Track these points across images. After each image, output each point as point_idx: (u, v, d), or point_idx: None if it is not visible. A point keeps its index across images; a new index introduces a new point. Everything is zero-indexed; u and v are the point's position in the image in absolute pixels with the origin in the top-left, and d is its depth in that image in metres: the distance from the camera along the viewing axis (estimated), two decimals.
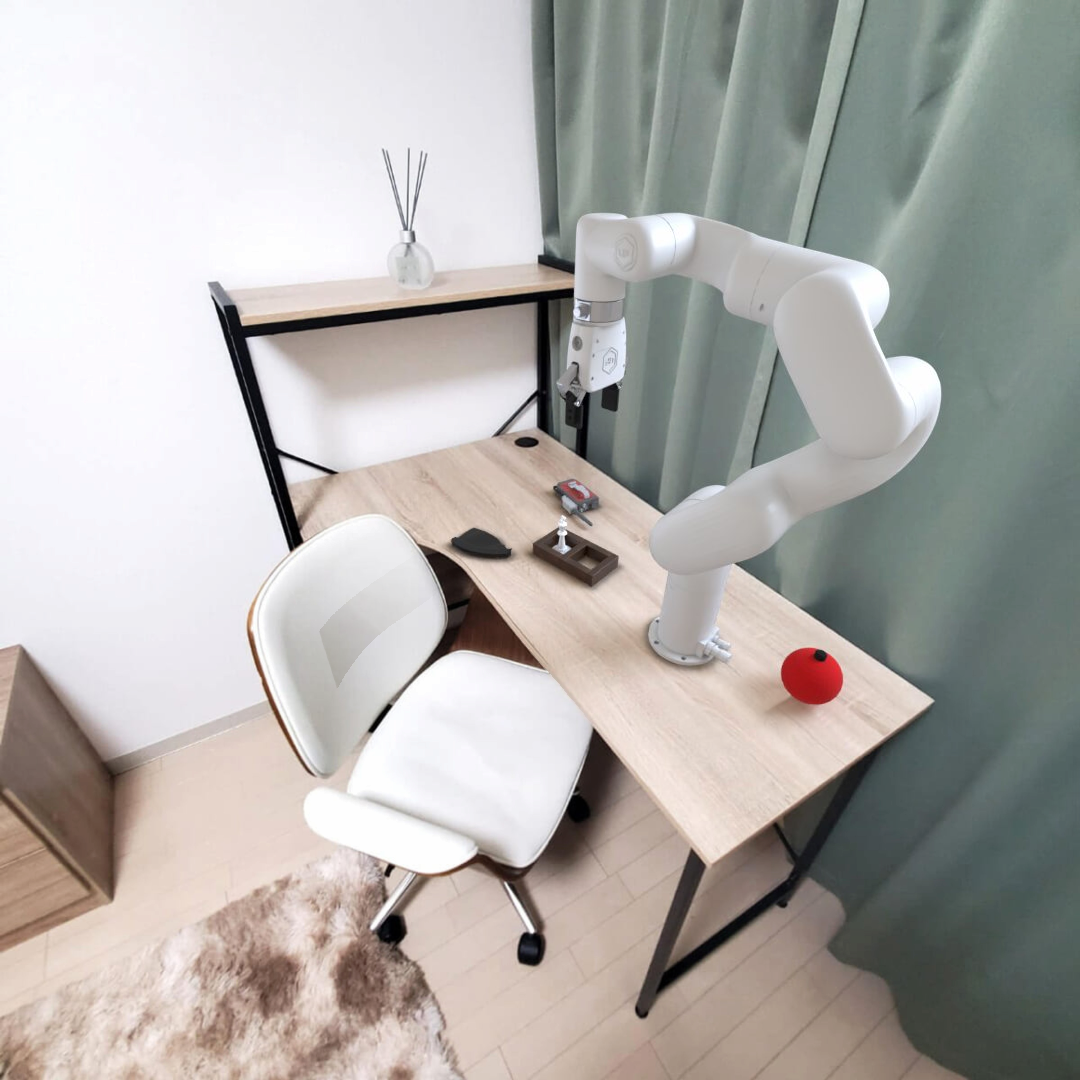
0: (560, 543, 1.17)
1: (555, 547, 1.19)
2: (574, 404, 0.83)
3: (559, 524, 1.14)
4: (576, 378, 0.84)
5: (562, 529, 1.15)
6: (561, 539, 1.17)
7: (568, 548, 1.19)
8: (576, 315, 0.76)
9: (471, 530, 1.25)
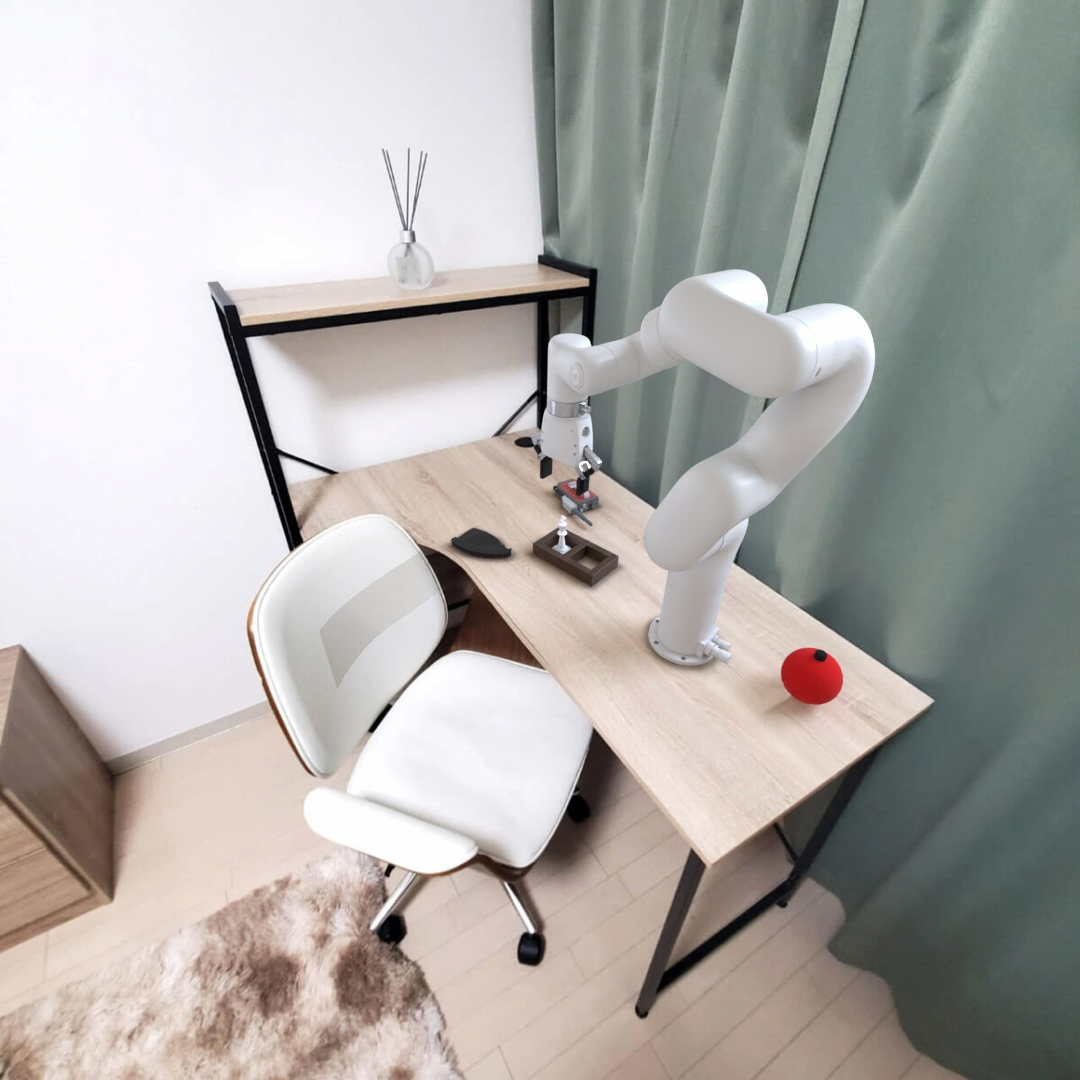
0: (560, 543, 1.17)
1: (555, 547, 1.19)
2: None
3: (559, 524, 1.14)
4: None
5: (562, 529, 1.15)
6: (561, 539, 1.17)
7: (568, 548, 1.19)
8: (588, 412, 0.96)
9: (471, 530, 1.25)
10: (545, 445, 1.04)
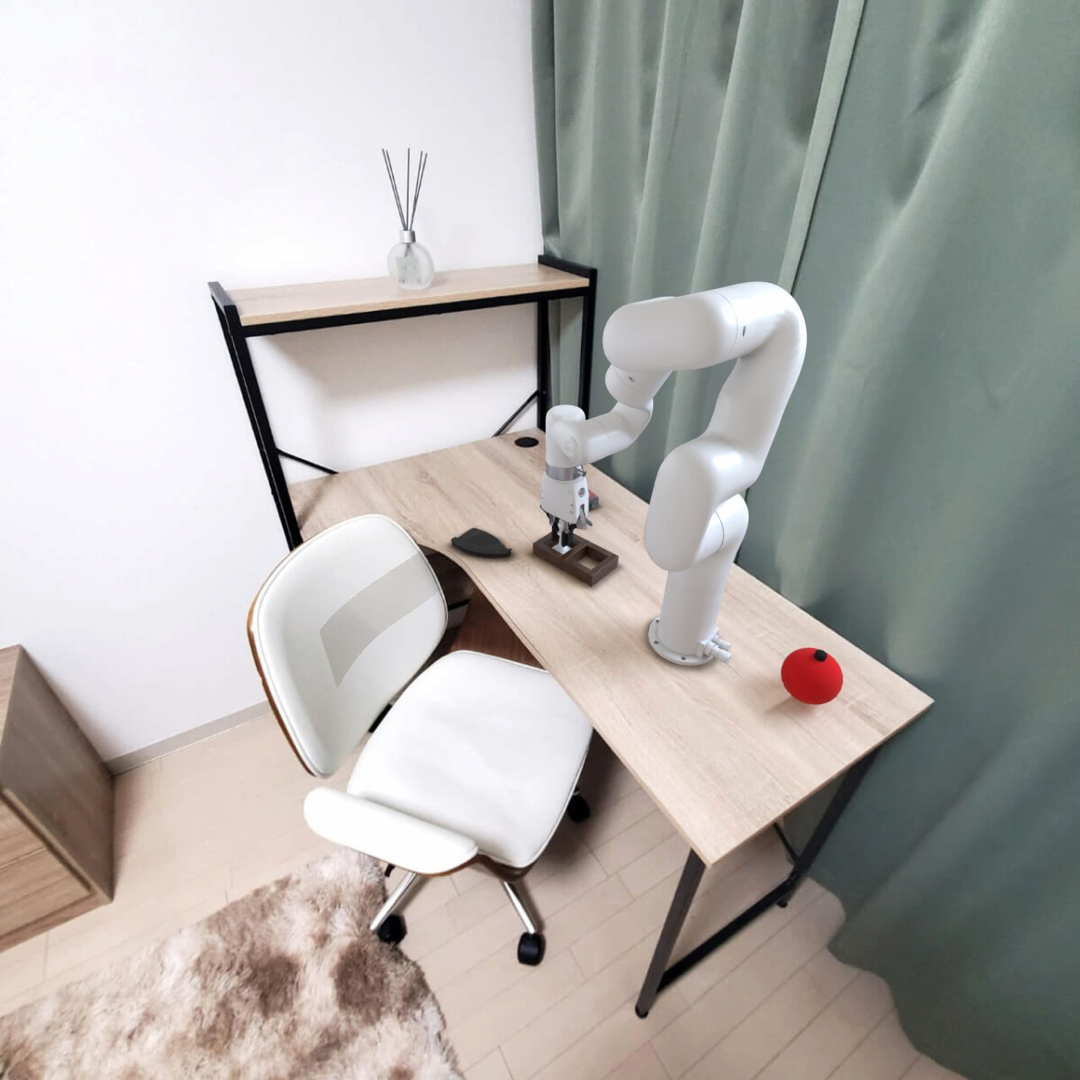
0: (560, 543, 1.17)
1: (555, 547, 1.19)
2: None
3: (559, 524, 1.14)
4: None
5: (562, 529, 1.15)
6: None
7: (568, 548, 1.19)
8: (584, 475, 1.04)
9: (471, 530, 1.25)
10: (545, 502, 1.12)
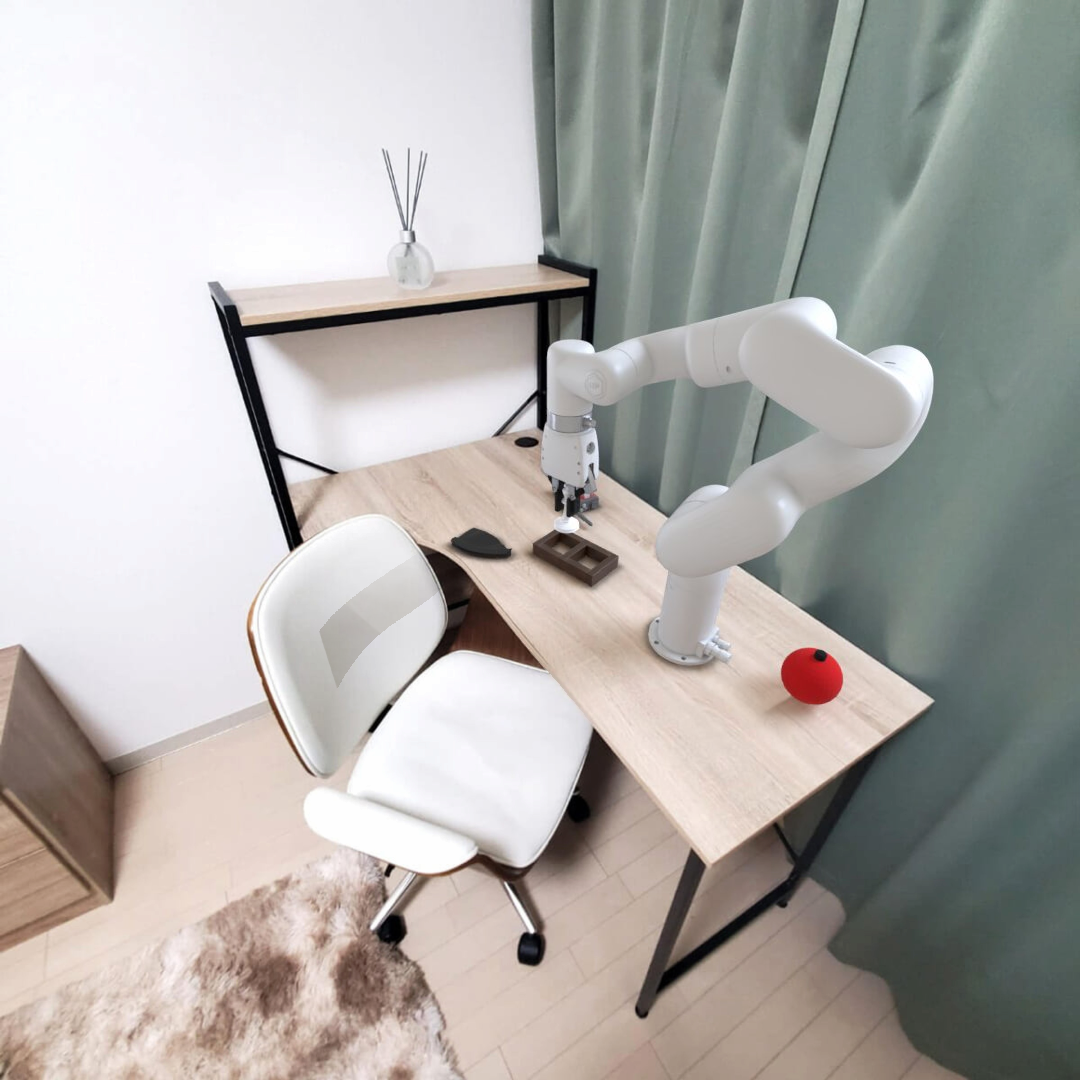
0: (565, 513, 0.99)
1: (559, 519, 1.01)
2: (580, 495, 0.96)
3: (564, 490, 0.96)
4: None
5: (567, 496, 0.97)
6: None
7: (574, 520, 1.01)
8: (593, 426, 0.86)
9: (471, 530, 1.25)
10: (547, 462, 0.94)
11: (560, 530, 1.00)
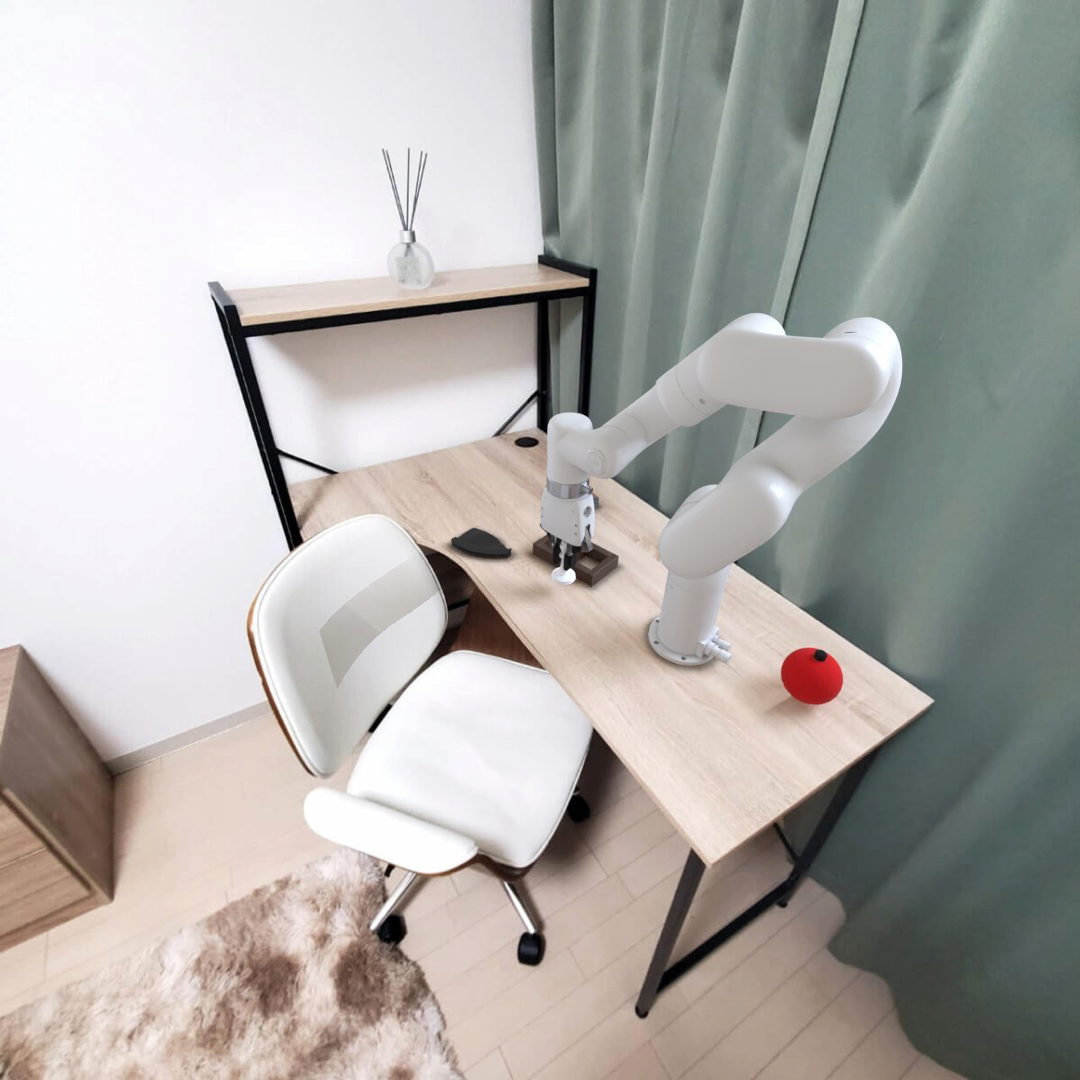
0: (562, 566, 1.05)
1: (556, 570, 1.07)
2: None
3: (561, 546, 1.02)
4: None
5: (564, 551, 1.02)
6: (563, 562, 1.04)
7: (571, 571, 1.07)
8: (590, 493, 0.91)
9: (471, 530, 1.25)
10: (545, 521, 0.99)
11: (557, 582, 1.05)
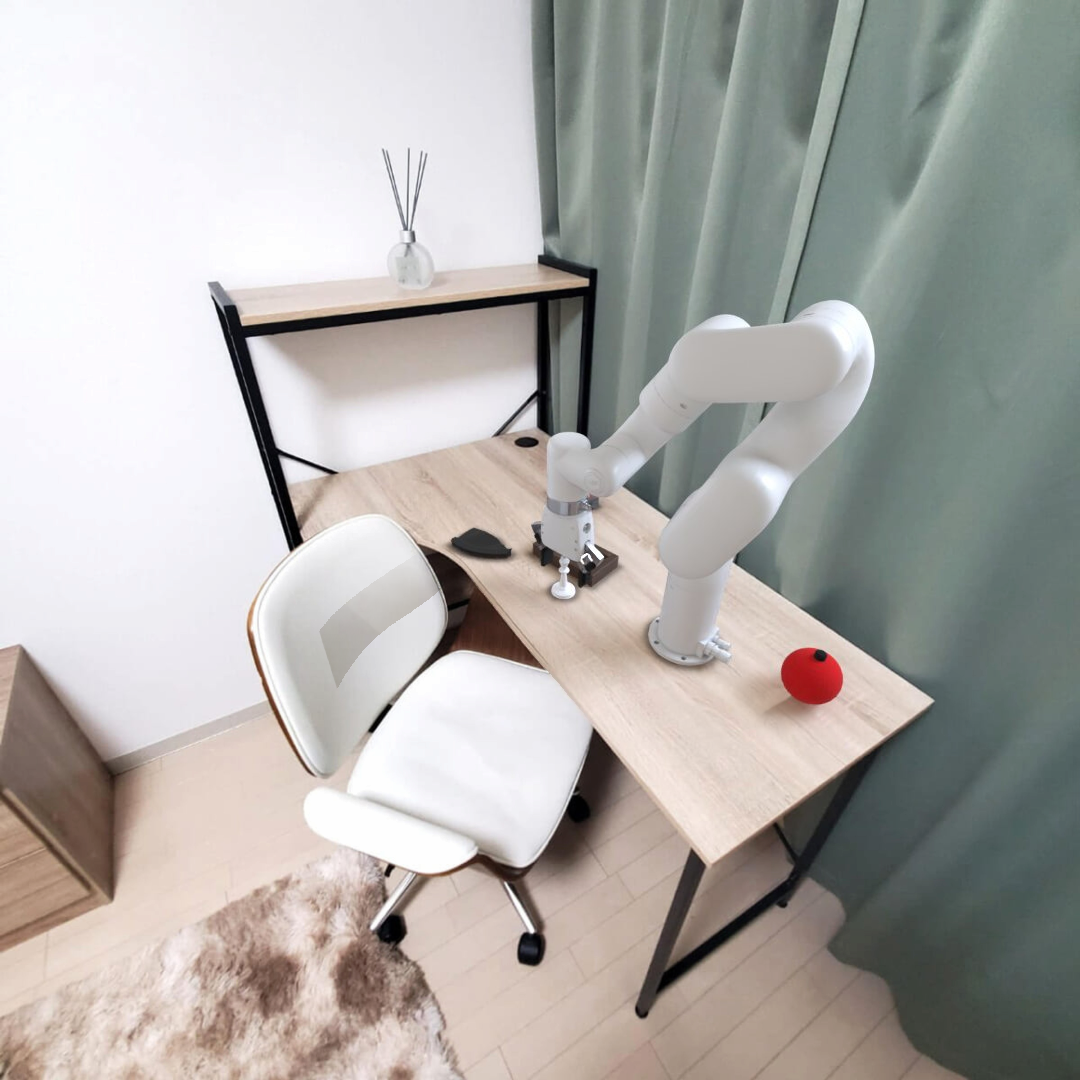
0: (562, 581, 1.07)
1: (556, 584, 1.09)
2: None
3: (561, 561, 1.04)
4: None
5: (564, 566, 1.04)
6: (563, 577, 1.06)
7: (570, 586, 1.09)
8: (589, 510, 0.93)
9: (471, 530, 1.25)
10: (546, 537, 1.01)
11: (557, 596, 1.07)
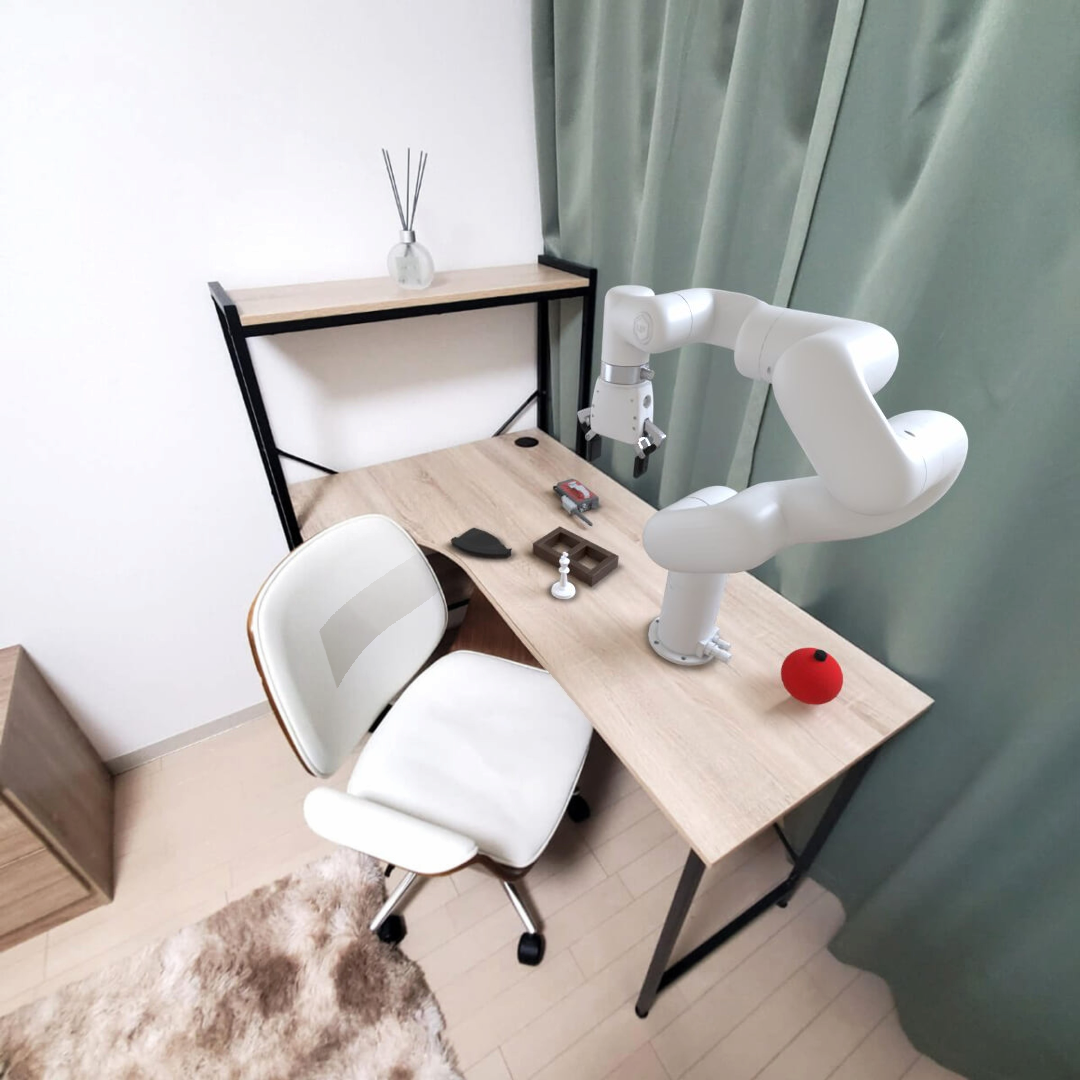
0: (562, 581, 1.07)
1: (556, 584, 1.09)
2: None
3: (561, 561, 1.04)
4: None
5: (564, 566, 1.04)
6: (563, 577, 1.06)
7: (570, 586, 1.09)
8: (651, 377, 0.82)
9: (471, 530, 1.25)
10: (597, 420, 0.90)
11: (557, 596, 1.07)
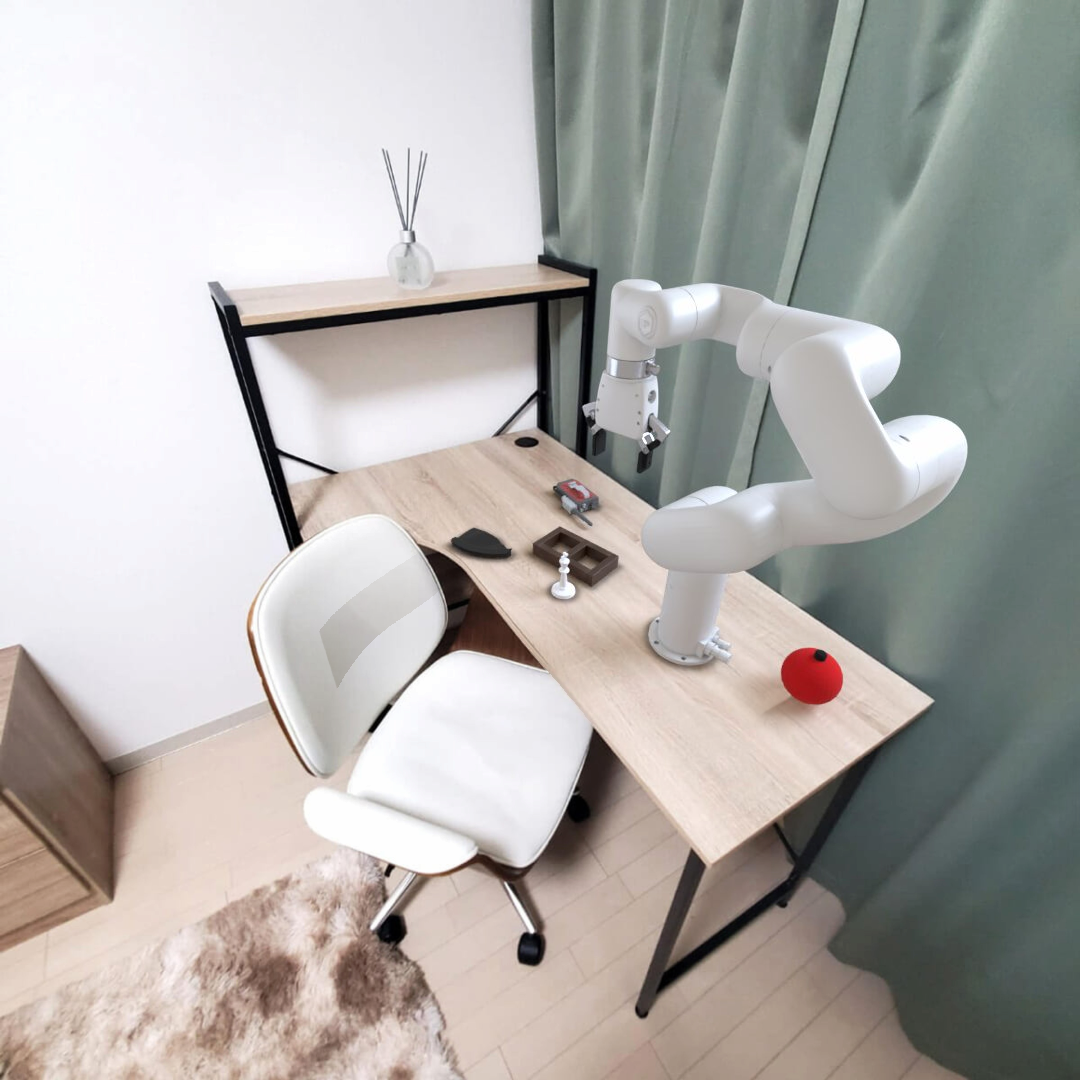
0: (562, 581, 1.07)
1: (556, 584, 1.09)
2: None
3: (561, 561, 1.04)
4: None
5: (564, 566, 1.04)
6: (563, 577, 1.06)
7: (570, 586, 1.09)
8: (657, 372, 0.82)
9: (471, 530, 1.25)
10: (602, 414, 0.90)
11: (557, 596, 1.07)
